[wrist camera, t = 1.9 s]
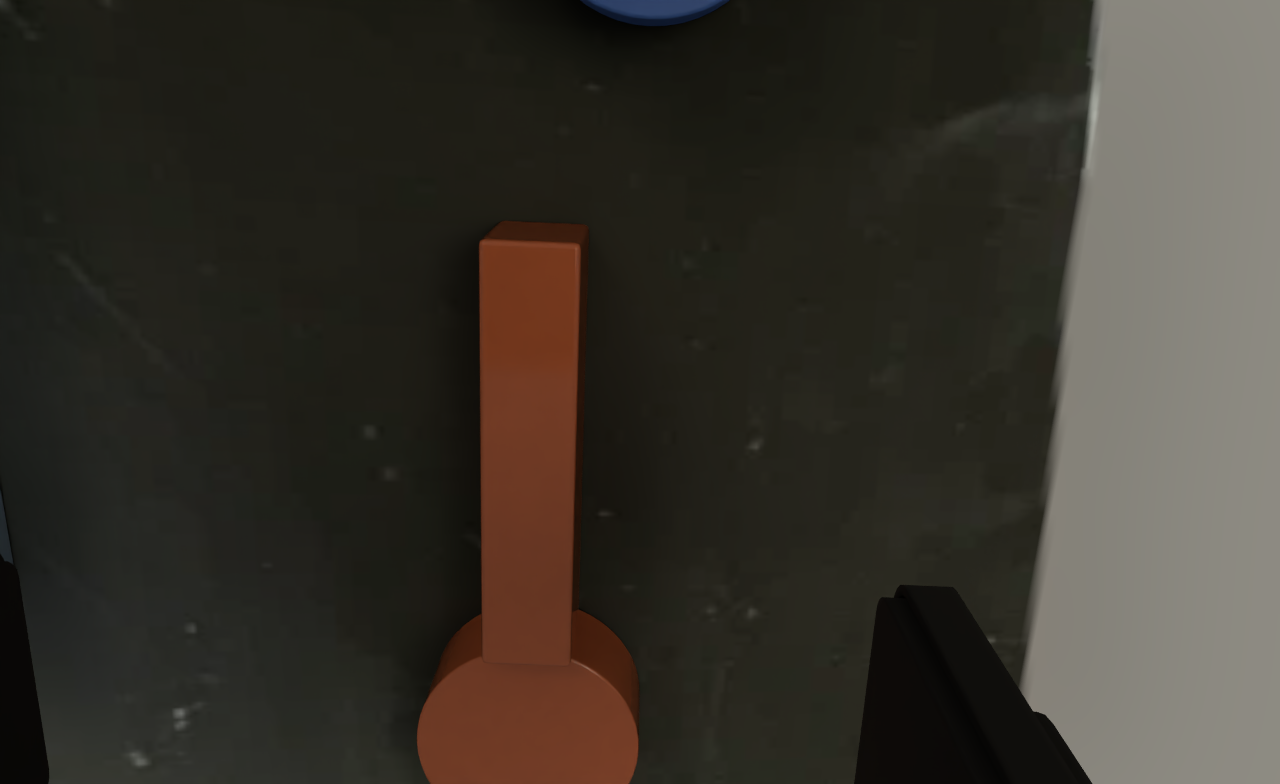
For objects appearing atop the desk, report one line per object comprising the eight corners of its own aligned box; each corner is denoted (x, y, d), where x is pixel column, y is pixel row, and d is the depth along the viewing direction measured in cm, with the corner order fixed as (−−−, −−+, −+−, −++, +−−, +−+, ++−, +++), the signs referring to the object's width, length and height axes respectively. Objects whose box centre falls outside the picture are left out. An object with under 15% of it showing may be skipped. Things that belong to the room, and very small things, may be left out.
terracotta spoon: (425, 216, 17) (393, 235, 15) (662, 227, 17) (665, 246, 15) (437, 769, 21) (414, 848, 19) (635, 778, 21) (633, 857, 19)
